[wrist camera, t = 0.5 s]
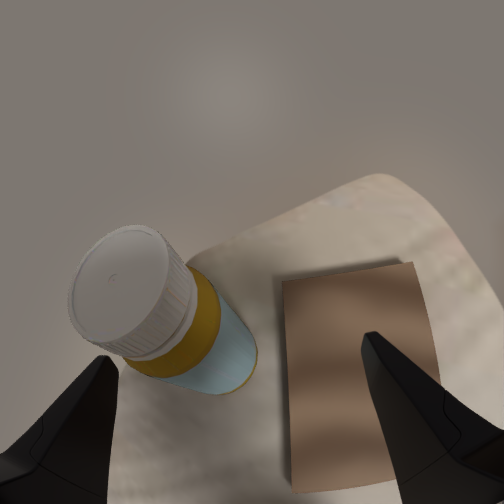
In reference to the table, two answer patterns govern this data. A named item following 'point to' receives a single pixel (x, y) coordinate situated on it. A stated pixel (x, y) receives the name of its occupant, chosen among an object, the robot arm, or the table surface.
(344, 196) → the table surface
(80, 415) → the robot arm
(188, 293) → the bottle
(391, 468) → the brown rectangular board
